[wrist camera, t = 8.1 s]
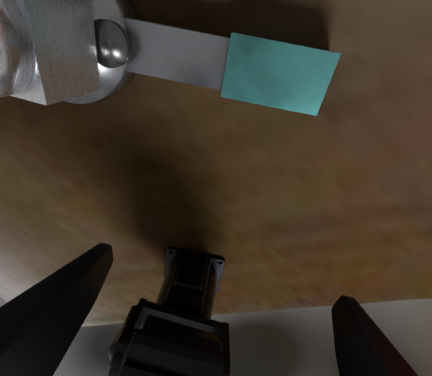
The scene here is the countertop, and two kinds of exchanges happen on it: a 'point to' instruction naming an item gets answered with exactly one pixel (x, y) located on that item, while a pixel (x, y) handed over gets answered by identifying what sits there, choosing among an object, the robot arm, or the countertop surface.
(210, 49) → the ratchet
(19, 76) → the cylinder with square end
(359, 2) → the countertop surface
